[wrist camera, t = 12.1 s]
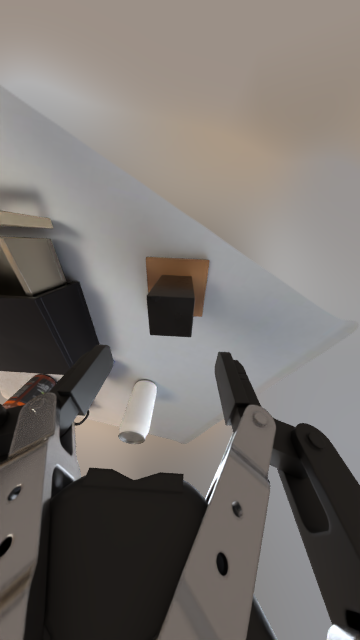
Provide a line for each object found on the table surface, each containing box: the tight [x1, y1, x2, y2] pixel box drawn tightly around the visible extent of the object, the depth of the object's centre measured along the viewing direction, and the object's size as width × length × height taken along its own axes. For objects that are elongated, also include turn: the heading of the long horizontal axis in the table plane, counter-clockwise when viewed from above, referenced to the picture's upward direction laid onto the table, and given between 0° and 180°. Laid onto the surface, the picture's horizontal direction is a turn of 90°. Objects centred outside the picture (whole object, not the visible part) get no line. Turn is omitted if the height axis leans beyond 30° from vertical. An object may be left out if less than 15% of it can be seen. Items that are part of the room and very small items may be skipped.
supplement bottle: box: [2, 374, 56, 409], centre depth 35 cm, size 6×6×11 cm
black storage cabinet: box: [0, 281, 99, 375], centre depth 25 cm, size 15×15×9 cm
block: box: [147, 275, 195, 337], centre depth 20 cm, size 5×5×10 cm
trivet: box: [146, 257, 209, 317], centre depth 25 cm, size 10×10×1 cm
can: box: [118, 380, 157, 444], centre depth 34 cm, size 6×6×12 cm
